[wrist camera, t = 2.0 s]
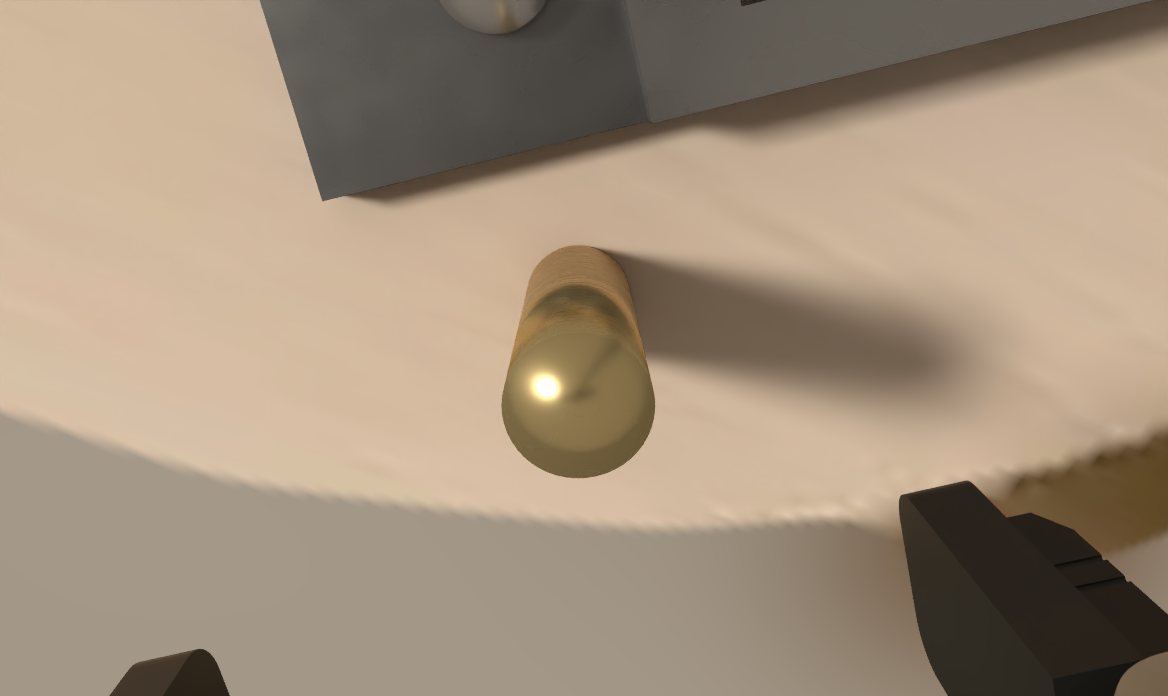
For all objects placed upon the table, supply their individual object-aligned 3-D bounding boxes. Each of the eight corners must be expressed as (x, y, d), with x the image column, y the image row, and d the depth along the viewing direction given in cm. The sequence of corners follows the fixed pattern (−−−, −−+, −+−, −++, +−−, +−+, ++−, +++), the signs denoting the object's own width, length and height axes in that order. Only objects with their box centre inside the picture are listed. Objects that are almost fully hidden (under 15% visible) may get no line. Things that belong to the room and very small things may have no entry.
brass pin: (616, 234, 29) (635, 316, 19) (639, 332, 29) (669, 459, 20) (515, 259, 29) (484, 352, 19) (541, 355, 30) (523, 492, 20)
